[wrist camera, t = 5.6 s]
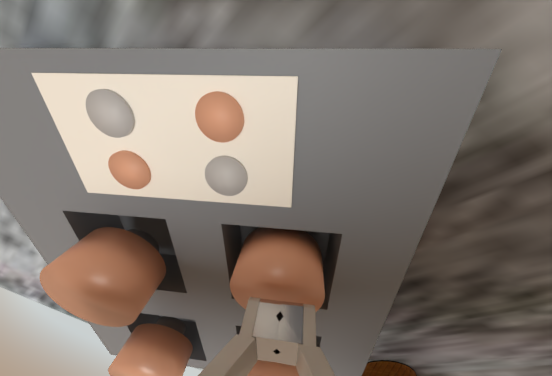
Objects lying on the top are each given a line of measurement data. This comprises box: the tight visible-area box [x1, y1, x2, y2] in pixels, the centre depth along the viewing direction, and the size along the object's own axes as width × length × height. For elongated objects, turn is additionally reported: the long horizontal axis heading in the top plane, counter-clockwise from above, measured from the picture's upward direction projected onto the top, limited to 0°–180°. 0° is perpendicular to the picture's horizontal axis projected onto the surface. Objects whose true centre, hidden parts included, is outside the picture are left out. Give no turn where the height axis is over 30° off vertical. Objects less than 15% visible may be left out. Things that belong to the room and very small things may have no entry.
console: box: [0, 48, 502, 376], centre depth 15 cm, size 22×24×4 cm
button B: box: [40, 227, 166, 327], centre depth 12 cm, size 5×5×4 cm
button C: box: [247, 360, 299, 376], centre depth 16 cm, size 5×5×4 cm
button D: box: [108, 316, 193, 376], centre depth 17 cm, size 5×5×4 cm
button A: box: [230, 227, 325, 312], centre depth 13 cm, size 5×5×4 cm
